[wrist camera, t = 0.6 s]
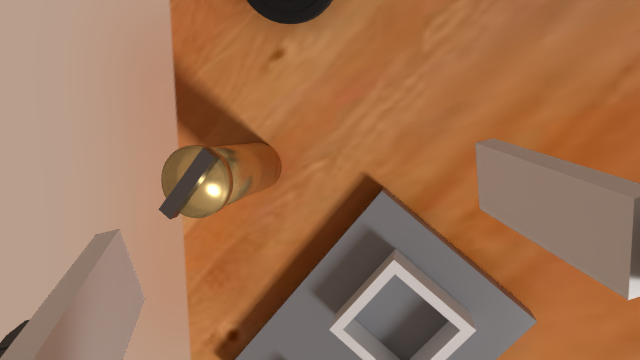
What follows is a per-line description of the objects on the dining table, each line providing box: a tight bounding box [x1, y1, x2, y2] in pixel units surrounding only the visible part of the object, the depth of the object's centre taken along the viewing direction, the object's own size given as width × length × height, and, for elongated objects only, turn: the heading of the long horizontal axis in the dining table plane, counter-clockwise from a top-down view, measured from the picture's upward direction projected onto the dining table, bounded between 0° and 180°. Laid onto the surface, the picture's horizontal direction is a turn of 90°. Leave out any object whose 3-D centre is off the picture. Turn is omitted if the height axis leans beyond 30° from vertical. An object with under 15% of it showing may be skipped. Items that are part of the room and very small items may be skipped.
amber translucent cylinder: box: [159, 143, 281, 219], centre depth 32 cm, size 5×5×13 cm
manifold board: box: [234, 188, 537, 360], centre depth 36 cm, size 24×16×5 cm, turn 141°
